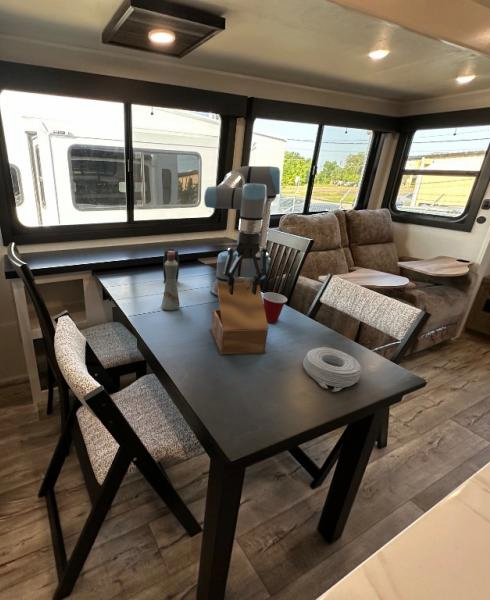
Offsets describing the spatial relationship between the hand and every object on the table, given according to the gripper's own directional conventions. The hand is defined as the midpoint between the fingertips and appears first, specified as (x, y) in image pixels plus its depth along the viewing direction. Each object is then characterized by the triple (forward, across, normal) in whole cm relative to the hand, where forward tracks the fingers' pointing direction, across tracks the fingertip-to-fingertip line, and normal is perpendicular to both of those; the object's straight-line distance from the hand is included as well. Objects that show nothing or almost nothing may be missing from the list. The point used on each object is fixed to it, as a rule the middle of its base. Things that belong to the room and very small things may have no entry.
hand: (242, 293), depth 115 cm
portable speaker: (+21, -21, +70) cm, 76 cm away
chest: (+21, 0, +1) cm, 21 cm away
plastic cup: (+21, +21, +18) cm, 35 cm away
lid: (+5, 0, -1) cm, 5 cm away
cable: (+21, +26, -22) cm, 40 cm away
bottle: (+21, -24, +34) cm, 47 cm away
